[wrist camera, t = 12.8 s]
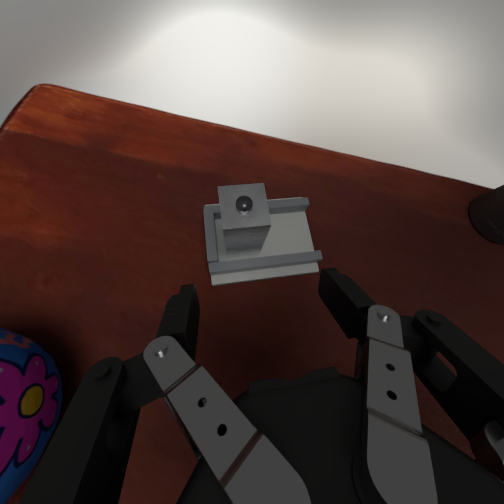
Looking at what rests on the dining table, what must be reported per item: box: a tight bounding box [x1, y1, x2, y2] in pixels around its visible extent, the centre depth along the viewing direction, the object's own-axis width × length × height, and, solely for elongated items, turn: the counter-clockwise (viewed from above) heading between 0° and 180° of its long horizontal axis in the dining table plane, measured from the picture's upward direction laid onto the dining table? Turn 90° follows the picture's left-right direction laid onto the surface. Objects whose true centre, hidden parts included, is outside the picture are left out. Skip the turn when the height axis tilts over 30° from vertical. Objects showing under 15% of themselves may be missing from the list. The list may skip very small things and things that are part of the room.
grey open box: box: [203, 197, 323, 286], centre depth 28 cm, size 15×12×4 cm
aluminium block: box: [218, 183, 271, 258], centre depth 24 cm, size 5×5×10 cm
